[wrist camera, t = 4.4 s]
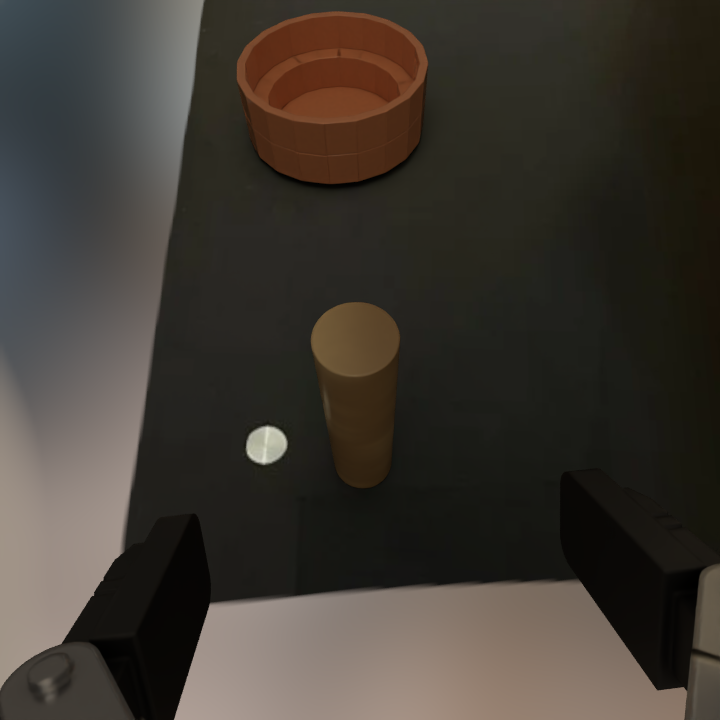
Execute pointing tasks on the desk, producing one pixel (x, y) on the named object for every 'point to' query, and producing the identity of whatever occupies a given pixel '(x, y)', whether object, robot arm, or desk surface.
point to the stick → (358, 388)
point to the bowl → (334, 96)
